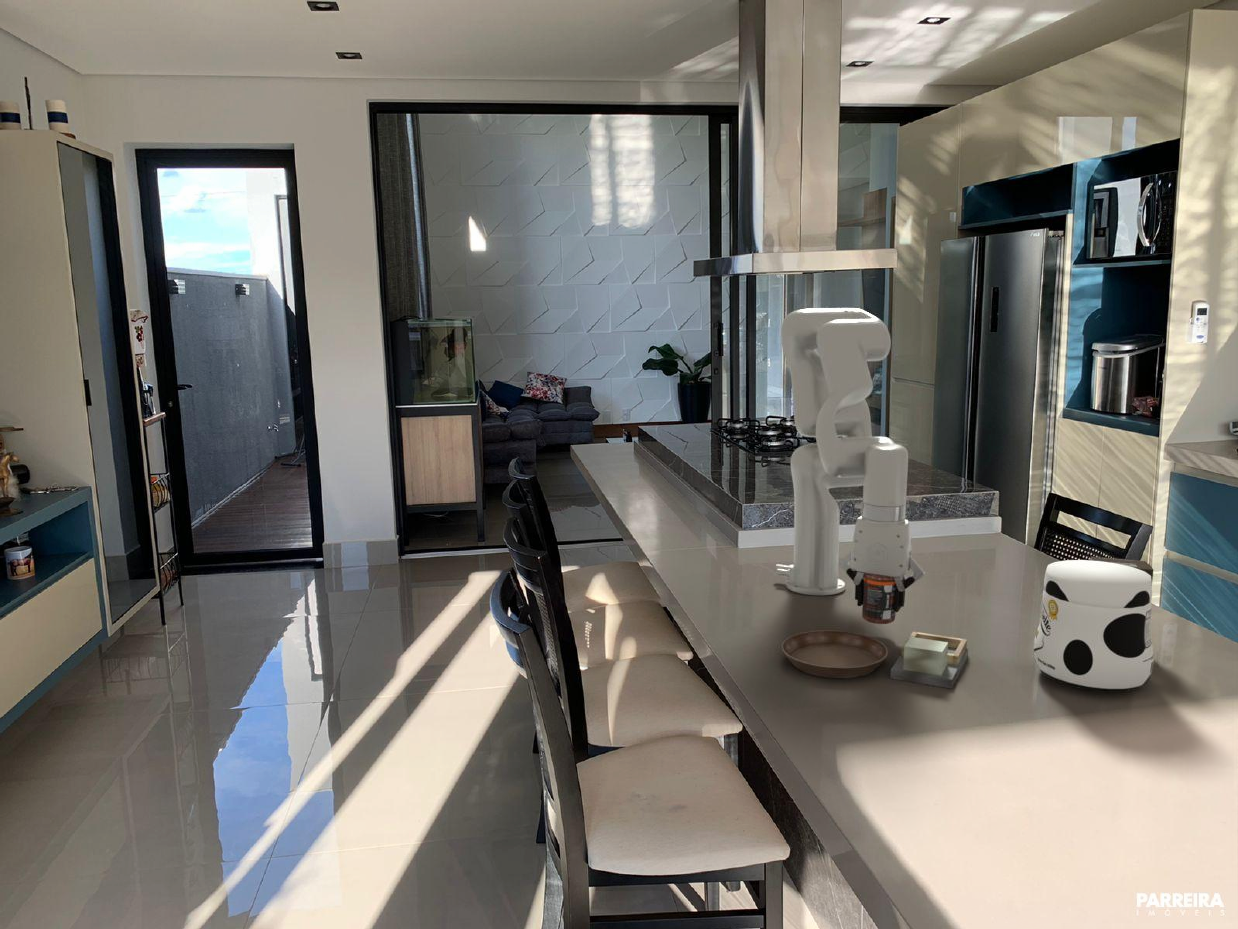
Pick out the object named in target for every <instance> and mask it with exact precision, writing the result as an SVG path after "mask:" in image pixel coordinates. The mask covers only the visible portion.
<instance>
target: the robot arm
mask: <svg viewBox="0 0 1238 929" xmlns="http://www.w3.org/2000/svg"><path fill="white" fill-rule="evenodd" d="M780 332H781V333H780V339H781V340H780V342H781V348H782V352H783V355H784V358H785V361H786V363H787V365H788V369H789V374H790V377H791V378H790V379H791V390H792V406H793V408H792V409H793V419H794V424H795V428H796V431H797V432H798V434H799V436H802V437H806V438H815V440H816V442H815V443H808V444H804V445H801V446H799V447H797V448H796V449H795V450H794V451H793V452H792V455H791V456H790V472H791V477H792V478H791V479H792V485H793V486H792V487H793V497H794V498H793V499H794V512H793V514H794V515H793V516H794V520H793V521H794V523H793V524H794V526H793V527H794V528H793V564H790V565H786V564H781V563H779V564H778V563H777V564H775V569H774V570H775V573H777V576H787V578H788V579H786V581H785V587H786V588H787V589H788V590H789V591H792V592H794V593H798V594H801V595H807V596H808V595H809V596H831V595H836V594H840V593H842V592H844V591H845V590H846V583H845V582H844V581H843V580H842V579H840V578H839V566H840V567H841V569H843V571H845V573H846V575H847V576H848V577H849V578H850V579H851V581H852V582H853V585H855V587H854V600H855V601H857V606H856V607H863V587H864V574H872V575H879V576H887V577H894V580H895V583H896V585H897V589H896V590H895V593H894V611H895V612H896V613H898V612H899V611H900V610H901V609H902V608H904V606H905V602H906V601H905V599H906V589H908V588H909V587H910V586H912V585H913V584H914V583H915V582H917V581H918V580H920V579H921V578H922V577H923V576H925V574H926V572H925V570H924V569H923V568H922V566H921V565H920V564H919V562H917V561H916V559H915V558H914V557H913V555H912V543H911V542H912V540H911V527H910V522H909V520H908V519H906V507H907V506H906V505H907V489H908V488H907V486H908V470H909V468H908V467H909V452H908V448H906V447H905V446H903V445H902V444H898V443H897V444H896V443H895V441H894V440H893V439H891V438H890V437H887V436H880V435H879V436H875V435H874V436H873V434H872V422H871V420H872V419H871V412H870V407H869V405H868V402H867V401H866V399H867V398H868V397H869V396H870V395H871V393H872V392H873V389H874V384H873V380H872V377H871V371H870V370H869V366H868V362H881V361H883V360H884V359H886V358H887V356H888V355H889V354H890V351H891V345H892V344H891V343H892V342H891V334H890V332H889V329H888V327H887V326H886V324H885V323H884V321H883V320H881V319H880V318H879V317H877V316H875V315H873V314H871V313H869V312H867V311H866V310H865V309H861V308H855V307H841V308H840V307H836V308H835V307H834V308H833V307H831V308H829V307H825V308H824V307H823V308H822V307H819V308H818V307H817V308H815V307H814V308H812V307H811V308H803V309H797V310H794V311H792V312H790V313H788V314H787V315H785V317H784V319H783V321H782V324H781V331H780ZM816 350H817V351H818V352H817V351H816ZM861 486H863V489H862V501H861V502H855V504H854V511H858V512H860V516H859V517H857V519H856V522H855V526H854V527H855V528H854V531H853V538H852V546H851V551H850V552H848V553H847V554H846V555H845V556H843V557H842V558H841V559H840V560H839V555H840V550H839V548H840V546H839V545H840V514H841V513H840V507H839V504H838V503H837V500H835V498H834V497H833V496H832V494H831V493H830V491H829V490H830V489H835V488H849V487H852V488H853V487H861ZM910 569H911V571H912V572H913V574H910V575H909V576H908V577H906V575H907V573H908V572H909V571H910Z"/></svg>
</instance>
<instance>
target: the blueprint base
mask: <svg viewBox="0 0 1238 929" xmlns="http://www.w3.org/2000/svg"><path fill="white" fill-rule="evenodd" d="M968 657H969V647H968V639H966V638H958V637H953V636H948V635H947V636H946V635H938V634H933V633H932V634H931V633H925V632H918V631H912V632H911V634H910V636H909V637H908V638H907V640H906V642H904V644H903V646H902V647H901V654H900V656H899V657H898V659H897V660H896V661H895V662H894V664H893V666H892V667H891V668H890V679H894V680H900V681H905V682H912V683H917V684H923V685H927V684H928V686H933V685H934V687H939V688H944V689H951V688H952V689H953V687H954V685H955V683H956V681H957V679H958V677H959V675H960V673H961V671H962V669H963V667H964V665H965V663H966V661H967V658H968Z"/></svg>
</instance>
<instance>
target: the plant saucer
mask: <svg viewBox="0 0 1238 929" xmlns="http://www.w3.org/2000/svg"><path fill="white" fill-rule="evenodd" d="M781 649H782V652H783V653H784V655H785V657H786V658H787V659H788V660H789V661H790V663H791V664H793V667H796V668H797V669H798V670H800V671H801V672H802V671H803V672H805V673H806V674H810V675H814V676H817V677H823V678H831V679H851V678H852V679H853V678H858V677H864V676H866V675H868V674H870V673H872V672H874V671H876V669H877V668H879V666H881V664H882V663H883V662H884V661H885V660H886V658H887V656H888V647H887V646H886V645H885V644H884V643H882V642H881V641H879V640H877V639H876V638H873V637H871V636H869V635H868V636H867V635H865V634H861V633H857V632H851V631H843V630H831V629H829V630H826V629H825V630H812V631H805V632H799V633H797V634H793V635H791V636H789V637H787V638H786V639H785V640H784V641H783V642H782V644H781Z"/></svg>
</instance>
